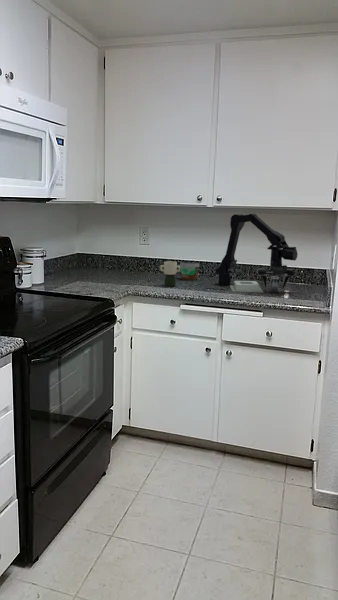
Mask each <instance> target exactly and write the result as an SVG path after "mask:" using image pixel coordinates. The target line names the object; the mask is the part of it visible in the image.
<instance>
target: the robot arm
mask: <svg viewBox="0 0 338 600" xmlns="http://www.w3.org/2000/svg"><path fill="white" fill-rule="evenodd" d="M247 222H248V223H249V222H251V224H252V225H254V226H255V227H256V228H257V229H258V230H259V231H261V232H262V234H263V235H265V237H266V238H267V240H268V242H269V243H270V246H268V247H267V249H266V250H270V261H269V262H270V263H269V264H270V266H269V269H266V268H264V267H257V268H256V274H257V275H258V276H260V277H261V279H262V282H263V285H264V288H265V289H266V288H267V275H266V274H272V275H273V276H277V275H279V276H282V277H283V279H282V287H281V288H282V289H284V288H285V286H286V284H287V282H288V280H289V278H292V277H293V276H295V270H294V269H293V268H288V265H287V264H283V260H287V261H297V259H298V250H297V247H296V246H289V245H288V243H287V241H286V239H285V237H286V236H284V235H283V234H282V233H280V232H279V231H276V230H274V229H273V228H272V227H270V226H269V225H268V224H267V223H266V222H265V221H264V220H262V219H261V218H260V217H259V216H258V215H257V214H256V213H249V214H243V213H238V214H233V215H231V217H230V235H229V239H228V243H227V248H226V252H225V255H224V256H223V258H222V260H221V262H220V265H219V266H218V267H217V268H216V270H215V273H216V274H217V285H218V286H230V285H231V283H232V282H231V280H232V279H231V278H232V277H231V273H233V271H234V269H235V268H236V267H237V265H236V264H237V262H238V260H237V259H235V256H236V255H235V254H236V250H237V246H238V241H239V237H240V232H241V230H242V229H243V228H244V227H245V223H247Z"/></svg>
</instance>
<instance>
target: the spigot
mask: <svg viewBox="0 0 338 600" xmlns="http://www.w3.org/2000/svg"><path fill="white" fill-rule="evenodd" d="M279 284H280V276H277V275H273V276H270V281H269V293H272V292H273V293H272V294H278V293H279V287H280V285H279ZM277 292H278V293H277Z"/></svg>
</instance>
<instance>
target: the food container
mask: <svg viewBox="0 0 338 600" xmlns="http://www.w3.org/2000/svg"><path fill="white" fill-rule="evenodd" d="M179 266H180V273H181V274H180V275H181V280H183V281H197V280H198V275H199V267H200V262H197V263H191V262H182V261H180V262H179Z"/></svg>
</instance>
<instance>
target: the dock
mask: <svg viewBox="0 0 338 600" xmlns="http://www.w3.org/2000/svg"><path fill="white" fill-rule="evenodd" d="M229 287H230V290H231V291H232V293H251V294H252V293H262V294H264V291H263V289H262V288H261V286H260V284H259V283H258V282H257V281H256V280H234V281H233V285H232V284H230V285H229Z"/></svg>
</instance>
